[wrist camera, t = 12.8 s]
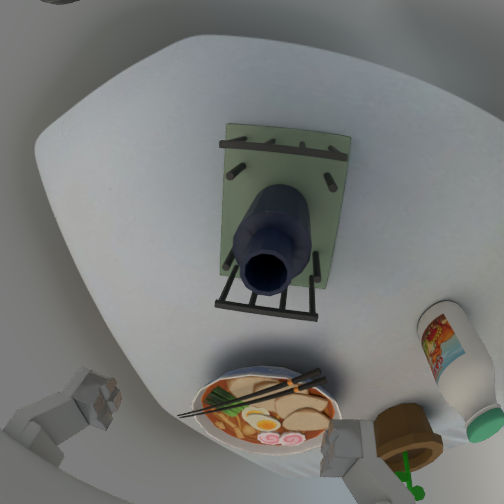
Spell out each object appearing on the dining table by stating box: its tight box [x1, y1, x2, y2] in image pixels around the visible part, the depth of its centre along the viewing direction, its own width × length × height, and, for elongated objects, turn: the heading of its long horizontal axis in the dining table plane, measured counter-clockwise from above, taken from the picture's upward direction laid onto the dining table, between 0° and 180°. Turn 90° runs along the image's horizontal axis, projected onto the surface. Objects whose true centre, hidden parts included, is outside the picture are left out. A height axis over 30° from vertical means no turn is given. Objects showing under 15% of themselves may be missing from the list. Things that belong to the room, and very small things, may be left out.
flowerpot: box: [374, 403, 443, 501], centre depth 33 cm, size 14×14×30 cm
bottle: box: [232, 184, 312, 296], centre depth 26 cm, size 6×6×14 cm
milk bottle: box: [417, 301, 504, 443], centre depth 28 cm, size 8×8×20 cm
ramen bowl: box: [177, 365, 342, 456], centre depth 43 cm, size 25×23×8 cm
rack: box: [215, 124, 351, 322], centre depth 30 cm, size 18×13×10 cm
